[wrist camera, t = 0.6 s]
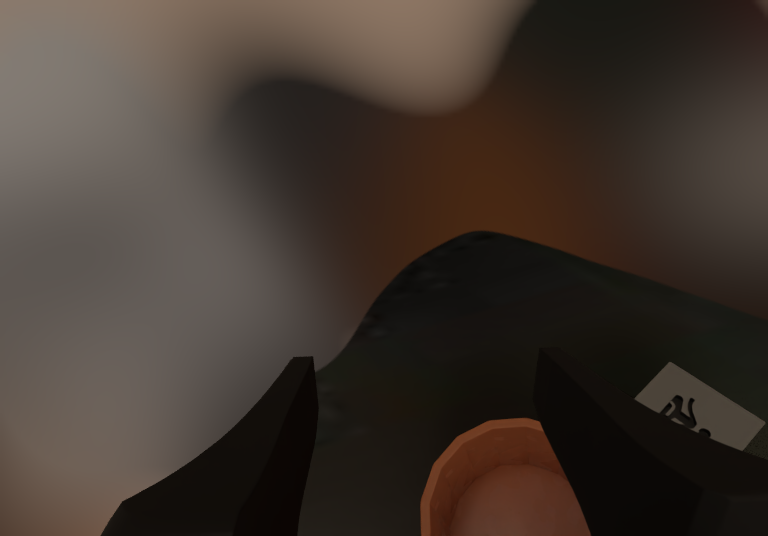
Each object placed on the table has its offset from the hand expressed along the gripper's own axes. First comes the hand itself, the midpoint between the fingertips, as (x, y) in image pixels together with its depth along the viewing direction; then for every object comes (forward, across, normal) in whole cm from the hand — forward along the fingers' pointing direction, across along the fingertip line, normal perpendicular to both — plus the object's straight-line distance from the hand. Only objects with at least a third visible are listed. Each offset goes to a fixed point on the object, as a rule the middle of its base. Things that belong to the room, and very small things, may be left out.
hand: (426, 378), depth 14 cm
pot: (+6, -7, +17) cm, 19 cm away
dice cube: (+9, -16, +13) cm, 23 cm away
